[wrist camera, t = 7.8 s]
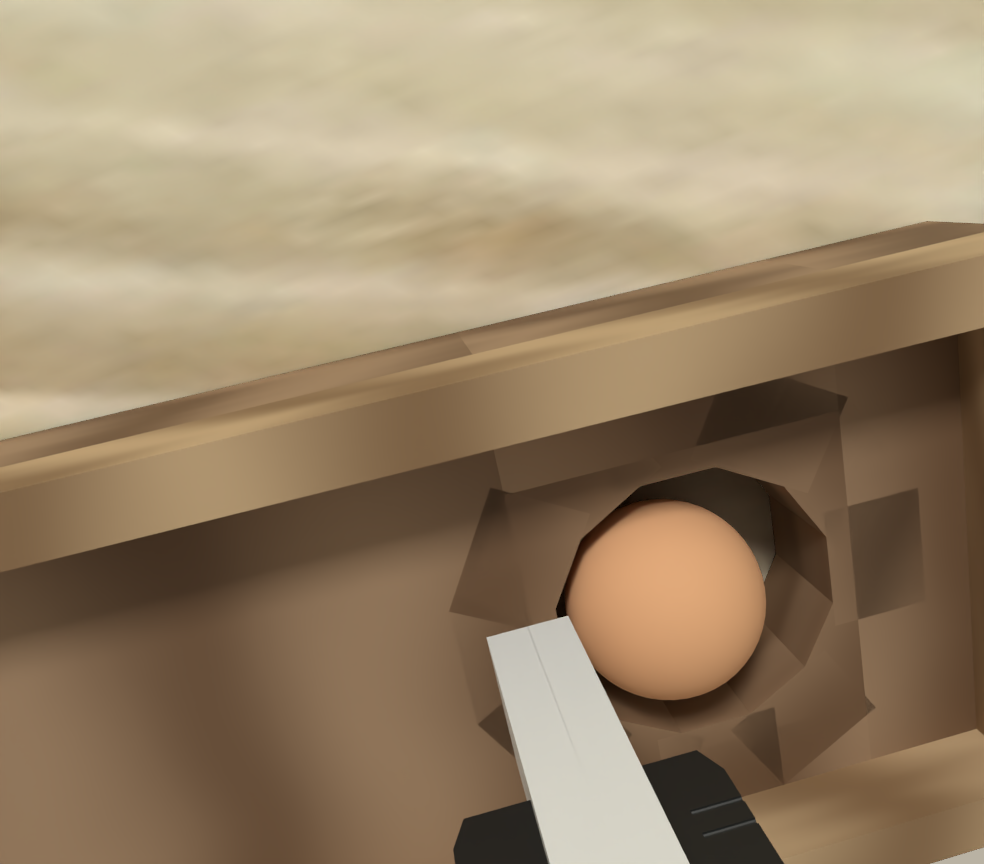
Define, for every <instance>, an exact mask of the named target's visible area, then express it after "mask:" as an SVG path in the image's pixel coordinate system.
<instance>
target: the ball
mask: <svg viewBox="0 0 984 864" xmlns="http://www.w3.org/2000/svg"><path fill="white" fill-rule="evenodd" d="M565 608H566V615H567V616H569V618H570V621H571V623H572V625H573V627H574V629H575V631H576V633H577V635H578V637H579V639H580V641H581V643H582V645H583V647H584V649H585V651H586V653H587V655H588V657H589V659H590V661H591V663H592V665H593V667H594V668H595V669H596V670H597V671H598V672H599V673H600V674H601V675H602V676H603V677H605V678H606V679H607V680H609V681H610V682H611V683H613V684H615V685H616V686H618V687H620V688H621V689H623V690H626V691H628V692H630V693H633V694H635V695H639V696H642V697H646V698H651V699H658V700H679V699H687V698H692V697H695V696H699V695H702V694H705V693H707V692H710V691H712V690H714V689H716V688H718V687H719V686H721V685H723V684H724V683H726V682H727V681H728V680H729V679H731V678H732V677H733V676H734V675H736V674H737V673H738V671H739V670H740V669H741V668H742V667H743V666H744V665H745V664H746V662H747V661H748V659H749V658H750V657H751V655H752V654H753V652H754V650H755V648H756V646H757V644H758V642H759V639H760V636H761V633H762V630H763V626H764V621H765V616H766V593H765V586H764V581H763V577H762V574H761V571H760V568H759V565H758V562H757V560H756V559H755V557H754V555H753V553H752V551H751V549H750V548H749V546H748V545H747V543H746V542H745V540H744V539H743V538H742V537H741V536H740V535H739V533H738V532H737V531H736V530H735V529H734V528H733V527H732V526H730V525H729V524H728V523H727V522H726V521H725V520H723V519H722V518H720V517H719V516H717V515H716V514H714V513H713V512H711V511H709V510H707V509H705V508H703V507H700V506H697V505H694V504H692V503H688V502H684V501H679V500H671V499H650V500H645V501H639V502H636V503H632V504H629V505H626V506H624V507H622V508H620V509H617V510H615V511H613V512H612V513H610V514H609V515H607V516H606V517H605V518H604V519H603V520H602V521H601V522H600V523H599V524H597V525H596V526H595V527H594V528H593V529H592V530H591V531H590V532H588V533H587V534H586V535H585V537H584V538H583V540H582V541H581V542H580V544H579V546H578V549H577V551H576V554H575V557H574V560H573V562H572V565H571V568H570V571H569V573H568V576H567V579H566V584H565Z"/></svg>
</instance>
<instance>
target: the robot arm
mask: <svg viewBox="0 0 984 864" xmlns="http://www.w3.org/2000/svg"><path fill="white" fill-rule="evenodd" d="M486 638H487V642H488V646H489V650H490V654H491V658H492V662H493V667H494V671H495V675H496V679H497V683H498V687H499V691H500V696H501V700H502V704H503V708H504V712H505V716H506V720H507V725H508V729H509V733H510V737H511V741H512V745H513V749H514V754H515V758H516V762H517V766H518V769H519V773H520V777H521V780H522V784H523V788H524V792H525V795H526V799H527V801H524V802H521V803H517V804H514V805H510V806H507V807H503V808H500V809H496V810H493V811H489V812H486V813H482V814H479V815H475V816H472V817H468V818H465V819H463V822H462V825H461V828H460V831H459V834H458V837H457V840H456V842H455V845H454V848H453V852H454V860H455V864H784V862H783V861H782V859H781V858H780V856H779V855H778V853H777V851H776V850H775V848H774V847H773V845H772V843H771V842H770V840H769V839H768V837H767V836H766V834H765V832H764V831H763V829H762V828H761V826H760V824H759V823H757V822H756V819H755V817H754V815H753V813H752V812H751V810H750V809H749V807H748V805H747V804H746V802H745V801H743V800H742V797H741V794H740V793H739V791H738V790H737V788H736V786H735V785H734V783H733V782H732V780H731V779H730V777H729V775H728V774H727V772H726V771H725V769H724V768H722V767H721V766H719V765H718V764H716V763H715V762H713V761H712V760H711V759H709V758H708V757H706V756H705V755H703V754H702V753H700V752H699V751H697V750H695V751H691V752H688V753H684V754H681V755H677V756H674V757H670V758H667V759H663V760H660V761H656V762H653V763H649V764H646V765H642V766H641V763H640V761H639V759H638V757H637V755H636V753H635V751H634V749H633V747H632V745H631V743H630V741H629V739H628V737H627V735H626V733H625V731H624V729H623V727H622V725H621V723H620V721H619V719H618V716H617V714H616V712H615V710H614V708H613V706H612V704H611V702H610V700H609V698H608V696H607V694H606V692H605V690H604V688H603V686H602V684H601V682H600V680H599V678H598V676H597V674H596V672H595V670H594V667H593V665H592V663H591V661H590V659H589V657H588V655H587V653H586V651H585V649H584V647H583V645H582V643H581V641H580V639H579V637H578V635H577V633H576V631H575V629H574V627H573V625H572V623H571V621H570V618H569V616H565V617H561V618H557V619H554V620H550V621H546V622H542V623H539V624H535V625H531V626H527V627H524V628H520V629H516V630H512V631H509V632H505V633H501V634H497V635H494V636H490V637H486Z"/></svg>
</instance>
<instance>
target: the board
mask: <svg viewBox="0 0 984 864" xmlns="http://www.w3.org/2000/svg"><path fill="white" fill-rule="evenodd" d="M713 467H717V468H721V469H724V470H728V471H731V472H735V473H738V474H742V475H745V476H749V477H752V478H755V479H756V480H757V481H758V483H759V484H760V485H761V486H762V487H763V488H764V490H765V491H766V492H767V493H768V494H769V500H770V508H771V516H772V524H773V532H774V541H775V549H776V555H775V558H774V560H773V562H772V565H771V567H770V570H769V572H768V574H767V577H766V579H765V581H764V586H765V593H766V616H765V621H764V626H763V630H762V633H761V636H760V639H759V642H758V644H757V646H756V648H755V650H754V652H753V654H752V655H751V657H750V658H749V659H748V661H747V662H746V664H745V665H744V666H743V667H742V668H741V669H740V670H739V671H738V673H737V674H736V675H734V676H733V677H732V678H731V679H729V680H728V681H727V682H726V683H724V684H723V685H721V686H719V687H718V688H716V689H714V690H712V691H710V692H707V693H705V694H702V695H699V696H695V697H692V698H687V699H679V700H658V699H651V698H646V697H642V696H639V695H635V694H633V693H630V692H628V691H626V690H623V689H621V688H620V687H618V686H616V685H615V684H613V683H611V682H610V681H609V680H607V679H606V678H605V677H603V676H602V675H601V674H600V673H599V672H598V671H597V670H596V669H595V668H594V670H595V672H596V674H597V676H598V678H599V680H600V682H601V684H602V686H603V688H604V690H605V692H606V694H607V696H608V698H609V700H610V702H611V704H612V706H613V708H614V710H615V712H616V714H617V716H618V719H619V721H620V723H621V725H622V727H623V729H624V731H625V733H626V735H627V737H628V739H629V741H630V743H631V745H632V747H633V749H634V751H635V753H636V755H637V757H638V759H639V761H640V763H641V766H642V765H646V764H649V763H653V762H656V761H660V760H663V759H667V758H670V757H674V756H677V755H681V754H684V753H688V752H691V751H695V750H697V751H699V752H700V753H702V754H703V755H705V756H706V757H708V758H709V759H711V760H712V761H713V762H715V763H716V764H718V765H719V766H721V767H722V768H724V769H725V771H726V772H727V774H728V775H729V777H730V779H731V780H732V782H733V783H734V785H735V786H736V788H737V790H738V791H739V793H740V794H741V797H742V800H743V801H745V802H746V804H747V805H748V807H749V809H750V810H751V812H752V813H753V815H754V817H755V819H756V822H757V823H759V824H760V826H761V828H762V829H763V831H764V832H765V834H766V836H767V837H768V839H769V840H770V842H771V843H772V845H773V847H774V848H775V850H776V851H777V853H778V855H779V856H780V858H781V859H782V861H783V862H784V864H930V863H934V862H937V861H940V860H944V859H947V858H950V857H953V856H957V855H960V854H963V853H967V852H970V851H973V850H977V849H980V848H983V847H984V224H975V223H953V222H931V221H926V222H922V223H918V224H914V225H909V226H905V227H901V228H897V229H893V230H888V231H884V232H880V233H876V234H871V235H867V236H863V237H859V238H855V239H850V240H846V241H842V242H838V243H833V244H829V245H825V246H821V247H817V248H812V249H808V250H804V251H800V252H795V253H791V254H787V255H783V256H779V257H774V258H770V259H766V260H762V261H757V262H753V263H749V264H745V265H741V266H736V267H732V268H728V269H724V270H719V271H715V272H711V273H707V274H702V275H698V276H694V277H690V278H686V279H681V280H677V281H673V282H669V283H664V284H660V285H656V286H652V287H648V288H643V289H639V290H635V291H631V292H626V293H622V294H618V295H614V296H610V297H605V298H601V299H597V300H593V301H588V302H584V303H580V304H576V305H572V306H567V307H563V308H559V309H555V310H550V311H546V312H542V313H538V314H533V315H529V316H525V317H521V318H517V319H512V320H508V321H504V322H500V323H495V324H491V325H487V326H483V327H479V328H474V329H470V330H466V331H462V332H457V333H453V334H449V335H445V336H441V337H436V338H432V339H428V340H424V341H419V342H415V343H411V344H407V345H403V346H398V347H394V348H390V349H386V350H381V351H377V352H373V353H369V354H364V355H360V356H356V357H352V358H348V359H343V360H339V361H335V362H331V363H326V364H322V365H318V366H314V367H310V368H305V369H301V370H297V371H293V372H288V373H284V374H280V375H276V376H272V377H267V378H263V379H259V380H255V381H250V382H246V383H242V384H238V385H234V386H229V387H225V388H221V389H217V390H212V391H208V392H204V393H200V394H196V395H191V396H187V397H183V398H179V399H174V400H170V401H166V402H162V403H157V404H153V405H149V406H145V407H141V408H136V409H132V410H128V411H124V412H119V413H115V414H111V415H107V416H103V417H98V418H94V419H90V420H86V421H81V422H77V423H73V424H69V425H65V426H60V427H56V428H52V429H48V430H43V431H39V432H35V433H31V434H27V435H22V436H18V437H14V438H10V439H5V440H1V441H0V864H455V860H454V852H453V848H454V845H455V842H456V840H457V837H458V834H459V831H460V828H461V825H462V822H463V819H465V818H468V817H472V816H475V815H479V814H482V813H486V812H489V811H493V810H496V809H500V808H503V807H507V806H510V805H514V804H517V803H521V802H524V801H527V799H526V795H525V792H524V788H523V784H522V780H521V777H520V773H519V769H518V766H517V762H516V758H515V754H514V749H513V745H512V741H511V737H510V733H509V729H508V725H507V720H506V716H505V712H504V708H503V704H502V700H501V696H500V691H499V687H498V683H497V679H496V675H495V671H494V667H493V662H492V658H491V654H490V650H489V646H488V642H487V638H486V637H490V636H494V635H497V634H501V633H505V632H509V631H512V630H516V629H520V628H524V627H527V626H531V625H535V624H539V623H542V622H546V621H550V620H554V619H557V614H556V606H557V604H558V601H559V598H560V595H561V593H562V590H563V587H564V584H565V582H566V579H567V576H568V573H569V571H570V568H571V565H572V562H573V560H574V557H575V554H576V551H577V549H578V546H579V543H580V540H581V539H582V538H583V537H584V536H585V535H586V534H587V533H588V532H590V531H591V530H592V529H593V528H594V527H595V526H596V525H597V524H599V523H600V522H601V521H602V520H603V519H604V518H605V517H606V516H607V515H609V514H610V513H611V512H612V511H613V510H614V509H615V508H616V507H618V506H619V505H620V504H621V503H622V502H623V501H624V500H625V499H626V498H628V497H629V496H630V495H631V494H632V493H633V492H634V491H635V490H636V489H638V488H639V487H640V486H643V485H647V484H651V483H655V482H659V481H663V480H667V479H671V478H674V477H678V476H682V475H686V474H690V473H694V472H698V471H702V470H706V469H710V468H713Z"/></svg>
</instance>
